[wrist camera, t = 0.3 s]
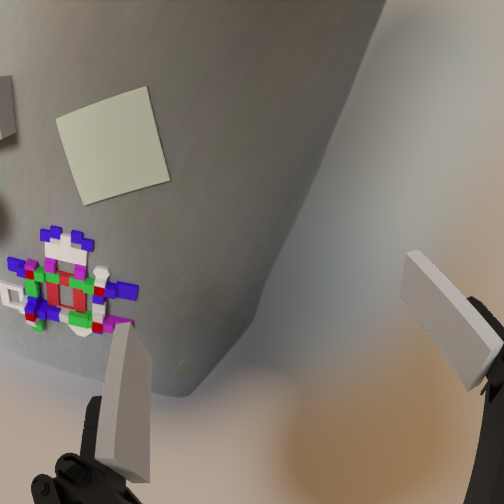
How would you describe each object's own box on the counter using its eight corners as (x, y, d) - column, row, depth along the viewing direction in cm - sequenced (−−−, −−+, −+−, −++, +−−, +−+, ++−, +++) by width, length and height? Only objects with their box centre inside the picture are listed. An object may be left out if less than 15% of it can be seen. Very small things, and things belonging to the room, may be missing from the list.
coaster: (57, 118, 30) (55, 119, 30) (147, 85, 31) (146, 86, 31) (85, 203, 37) (83, 205, 36) (170, 179, 37) (169, 180, 37)
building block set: (145, 243, 42) (141, 260, 38) (131, 343, 51) (128, 362, 47) (-6, 210, 34) (-21, 224, 31) (7, 312, 44) (-2, 329, 40)
